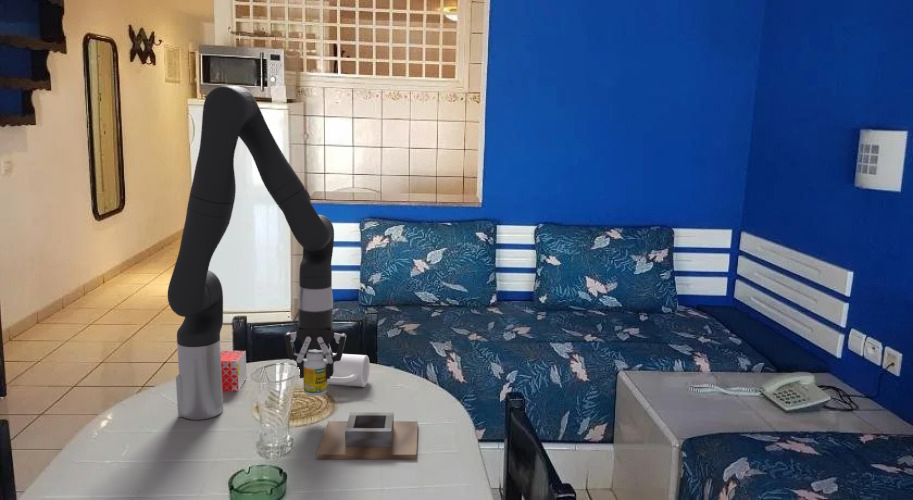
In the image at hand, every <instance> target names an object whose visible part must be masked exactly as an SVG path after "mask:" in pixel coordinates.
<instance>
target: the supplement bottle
mask: <svg viewBox="0 0 913 500" xmlns="http://www.w3.org/2000/svg"><path fill="white" fill-rule="evenodd" d="M305 357H306V359H304V364H303V378H302V379H303V393H304V394H305V395H308V396H310V397H313V396H314V397H318V396H322V395H325V394H326V393H327V391H328V384H327V378H326V368H327V361H326V358H325V355H324V354H323V351H322V350H316V349H314V350H308V349H307V351H306V353H305Z"/></svg>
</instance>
